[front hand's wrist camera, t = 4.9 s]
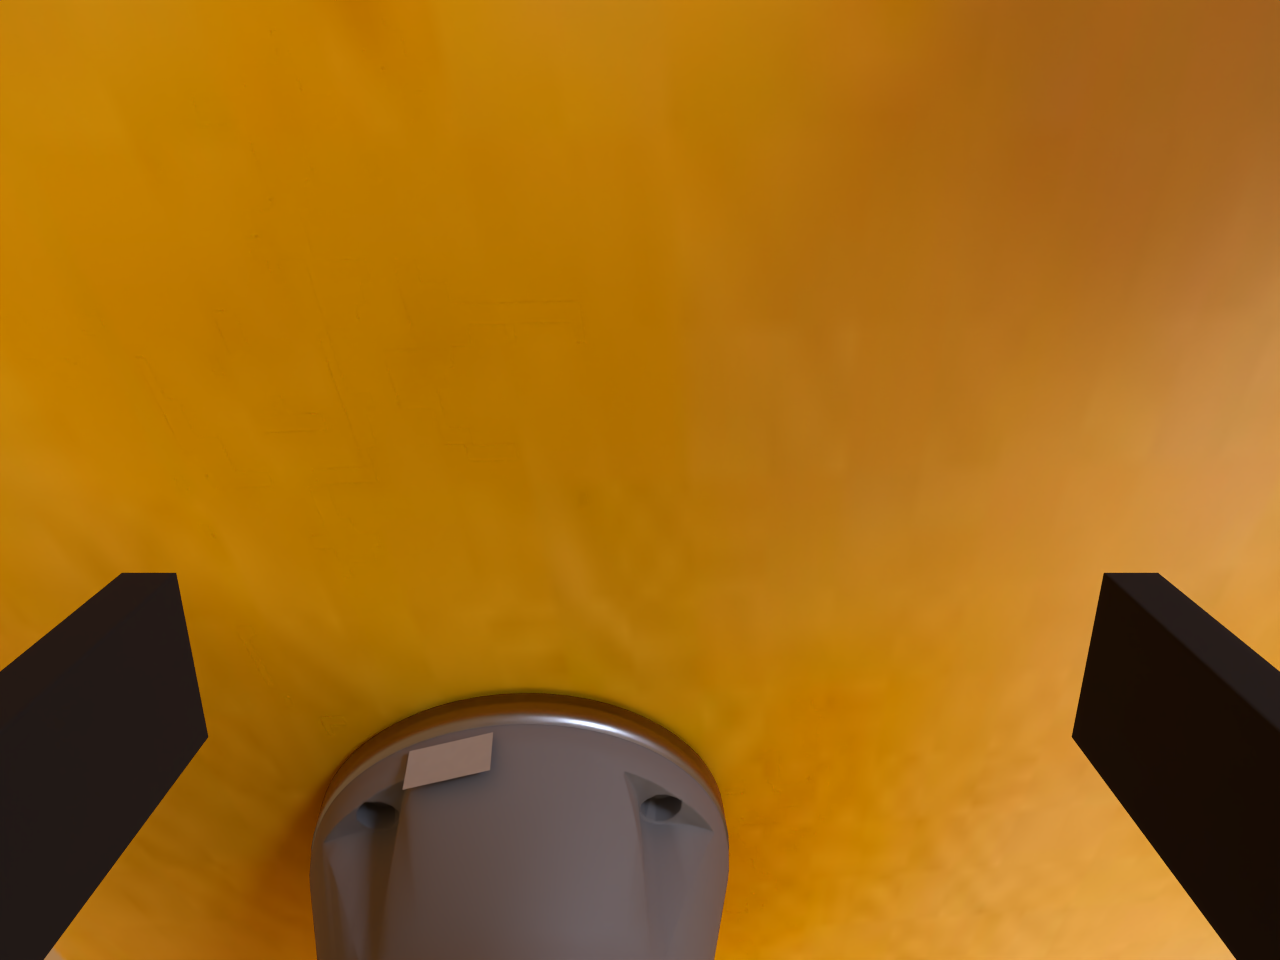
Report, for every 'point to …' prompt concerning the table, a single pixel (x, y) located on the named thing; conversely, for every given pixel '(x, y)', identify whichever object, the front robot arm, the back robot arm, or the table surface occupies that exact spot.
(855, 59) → the table surface
